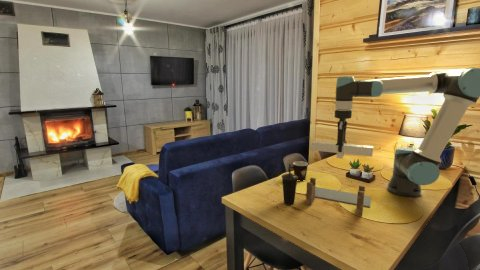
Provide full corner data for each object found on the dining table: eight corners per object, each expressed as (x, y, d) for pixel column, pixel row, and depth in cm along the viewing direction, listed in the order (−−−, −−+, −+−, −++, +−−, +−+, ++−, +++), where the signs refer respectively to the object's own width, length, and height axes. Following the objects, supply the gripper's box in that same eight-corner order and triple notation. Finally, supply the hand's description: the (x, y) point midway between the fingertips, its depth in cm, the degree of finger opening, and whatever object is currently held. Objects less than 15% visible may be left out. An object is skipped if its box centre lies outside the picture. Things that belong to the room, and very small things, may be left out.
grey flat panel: (371, 197, 131) (371, 196, 131) (370, 207, 120) (370, 206, 120) (311, 187, 145) (311, 186, 145) (305, 195, 134) (305, 194, 134)
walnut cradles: (363, 208, 120) (365, 185, 118) (361, 216, 113) (363, 192, 111) (310, 197, 131) (310, 177, 129) (306, 204, 124) (306, 183, 122)
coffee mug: (306, 176, 160) (306, 161, 158) (308, 182, 152) (309, 165, 149) (287, 176, 161) (287, 161, 159) (288, 181, 153) (288, 165, 151)
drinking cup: (287, 208, 121) (288, 167, 117) (278, 201, 128) (278, 162, 124) (300, 204, 125) (301, 164, 121) (290, 198, 131) (291, 160, 127)
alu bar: (372, 154, 123) (373, 146, 122) (372, 156, 119) (372, 148, 119) (312, 148, 136) (312, 140, 135) (310, 150, 132) (311, 142, 132)
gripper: (337, 107, 132) (334, 151, 137) (332, 111, 118) (329, 160, 122) (353, 108, 129) (350, 153, 134) (350, 112, 114) (346, 162, 119)
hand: (340, 156), depth 128 cm, fingers closed on alu bar, 4 cm apart
